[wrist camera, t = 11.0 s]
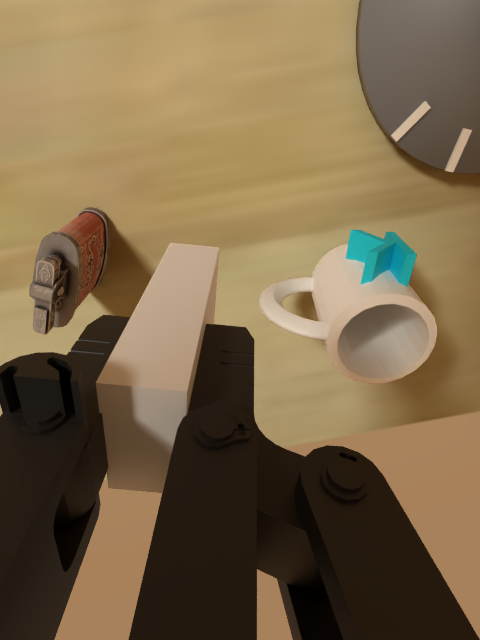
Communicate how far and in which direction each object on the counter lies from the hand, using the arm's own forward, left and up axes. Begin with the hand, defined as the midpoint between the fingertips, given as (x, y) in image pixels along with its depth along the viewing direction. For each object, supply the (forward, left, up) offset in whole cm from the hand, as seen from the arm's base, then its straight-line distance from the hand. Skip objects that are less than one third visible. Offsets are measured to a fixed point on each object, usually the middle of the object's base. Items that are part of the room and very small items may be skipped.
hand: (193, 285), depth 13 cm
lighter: (+10, -11, -23) cm, 28 cm away
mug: (+6, +10, -23) cm, 26 cm away
